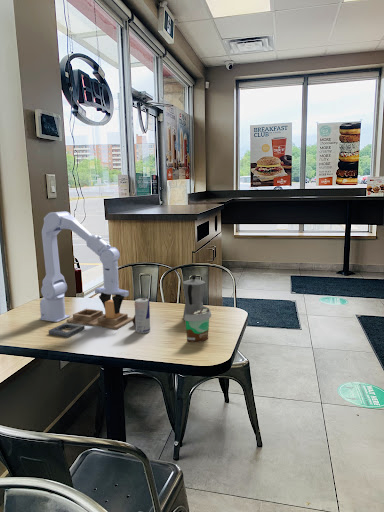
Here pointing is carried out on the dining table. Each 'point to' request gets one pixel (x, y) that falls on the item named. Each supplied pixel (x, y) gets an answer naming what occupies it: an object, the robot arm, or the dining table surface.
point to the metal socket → (68, 334)
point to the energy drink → (142, 315)
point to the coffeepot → (193, 295)
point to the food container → (198, 325)
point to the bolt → (133, 321)
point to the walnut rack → (99, 319)
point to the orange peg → (110, 310)
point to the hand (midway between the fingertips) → (112, 312)
